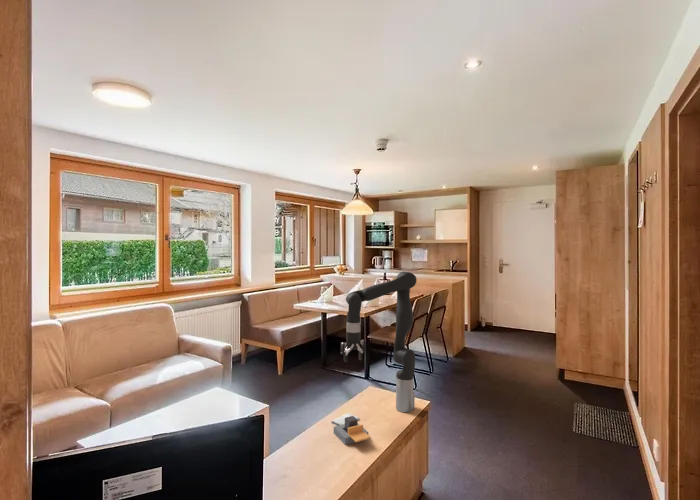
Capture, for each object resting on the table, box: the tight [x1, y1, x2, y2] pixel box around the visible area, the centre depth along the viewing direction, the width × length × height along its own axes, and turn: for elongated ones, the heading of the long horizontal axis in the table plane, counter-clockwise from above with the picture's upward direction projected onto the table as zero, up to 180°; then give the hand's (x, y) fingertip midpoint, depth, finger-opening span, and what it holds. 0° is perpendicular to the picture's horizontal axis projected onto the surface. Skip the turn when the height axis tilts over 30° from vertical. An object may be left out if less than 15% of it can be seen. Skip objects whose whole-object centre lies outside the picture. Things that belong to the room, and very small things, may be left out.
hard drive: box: [330, 412, 360, 426], centre depth 188 cm, size 2×8×12 cm
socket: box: [333, 422, 369, 446], centre depth 173 cm, size 12×12×3 cm
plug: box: [345, 415, 359, 433], centre depth 173 cm, size 4×4×8 cm
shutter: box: [348, 423, 371, 443], centre depth 166 cm, size 8×8×3 cm
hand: (353, 360), depth 196 cm, fingers open, 8 cm apart
